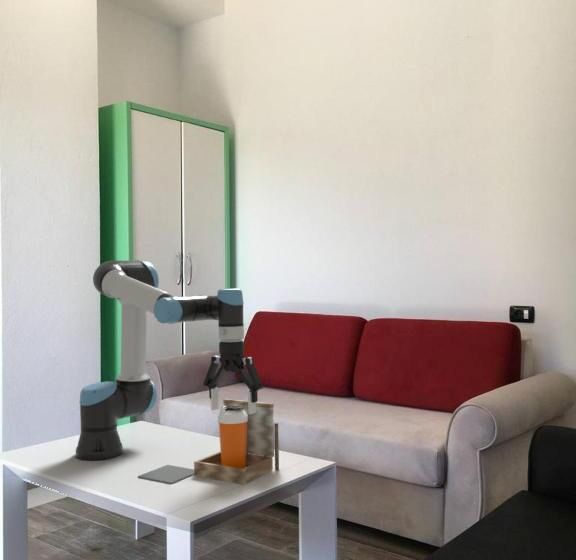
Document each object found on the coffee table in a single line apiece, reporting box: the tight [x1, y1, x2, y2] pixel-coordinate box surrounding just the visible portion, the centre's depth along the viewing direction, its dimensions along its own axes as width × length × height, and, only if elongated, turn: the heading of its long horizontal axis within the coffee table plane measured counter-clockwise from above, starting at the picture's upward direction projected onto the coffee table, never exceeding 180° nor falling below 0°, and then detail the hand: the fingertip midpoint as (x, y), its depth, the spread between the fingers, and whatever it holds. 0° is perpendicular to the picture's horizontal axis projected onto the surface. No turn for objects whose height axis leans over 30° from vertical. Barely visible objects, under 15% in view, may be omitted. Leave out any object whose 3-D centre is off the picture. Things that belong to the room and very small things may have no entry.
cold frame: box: [193, 398, 280, 485], centre depth 199 cm, size 19×17×20 cm
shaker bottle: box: [217, 405, 248, 469], centre depth 198 cm, size 9×9×20 cm
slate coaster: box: [137, 464, 195, 485], centre depth 198 cm, size 13×13×1 cm
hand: (233, 411), depth 198 cm, fingers open, 13 cm apart
